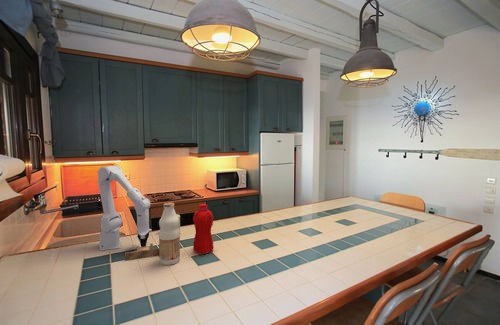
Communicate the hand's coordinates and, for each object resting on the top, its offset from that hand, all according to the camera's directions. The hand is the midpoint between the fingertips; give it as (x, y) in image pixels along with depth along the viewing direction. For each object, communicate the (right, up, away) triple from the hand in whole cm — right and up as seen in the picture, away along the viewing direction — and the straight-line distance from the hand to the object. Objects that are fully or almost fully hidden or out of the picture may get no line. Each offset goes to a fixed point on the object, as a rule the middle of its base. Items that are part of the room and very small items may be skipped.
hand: (143, 247), depth 134 cm
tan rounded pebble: (+2, -2, -5) cm, 6 cm away
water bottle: (+32, -2, 0) cm, 32 cm away
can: (+8, 0, +23) cm, 24 cm away
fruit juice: (+18, -3, -12) cm, 22 cm away
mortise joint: (+2, -2, -5) cm, 6 cm away
